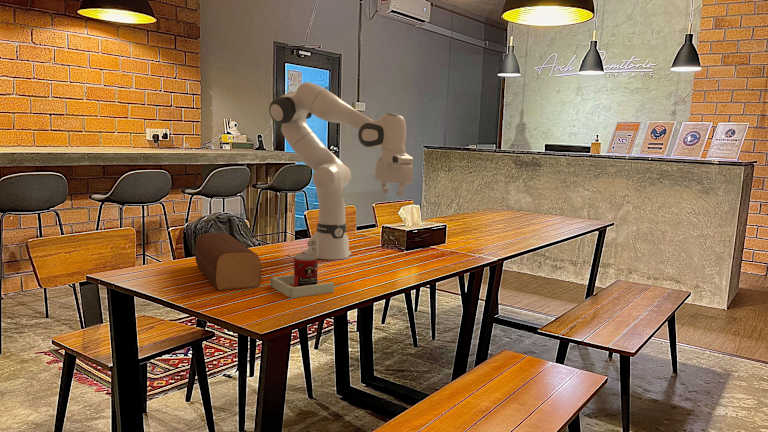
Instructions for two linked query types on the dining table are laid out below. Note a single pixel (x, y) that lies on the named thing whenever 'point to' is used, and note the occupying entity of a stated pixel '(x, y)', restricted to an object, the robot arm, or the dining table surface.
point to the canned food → (305, 269)
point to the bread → (227, 262)
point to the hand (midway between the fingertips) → (392, 194)
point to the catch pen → (284, 287)
